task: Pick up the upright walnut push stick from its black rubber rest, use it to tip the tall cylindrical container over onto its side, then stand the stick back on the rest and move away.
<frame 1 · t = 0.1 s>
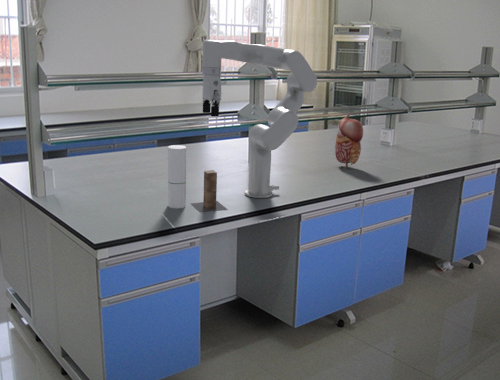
hand: (210, 114, 215), 37 cm above the table, tool pointing down, fingers open, 9 cm apart
anatomical model: (346, 168, 292), on the table
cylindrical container: (176, 207, 214), on the table
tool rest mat: (208, 207, 214), on the table
push stick: (209, 207, 213), point 1 cm above the table, touching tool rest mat
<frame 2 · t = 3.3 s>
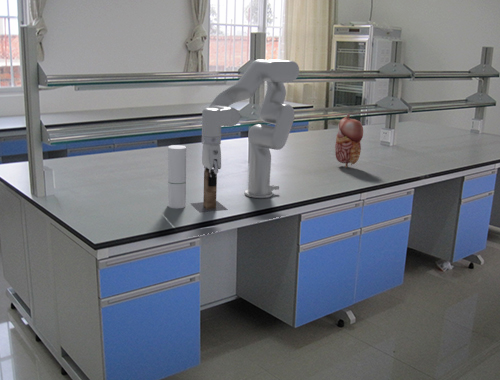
hand: (210, 184, 210), 10 cm above the table, tool pointing down, fingers closed on push stick, 4 cm apart
push stick: (209, 207, 213), point 1 cm above the table, touching gripper, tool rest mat
everything else where it was.
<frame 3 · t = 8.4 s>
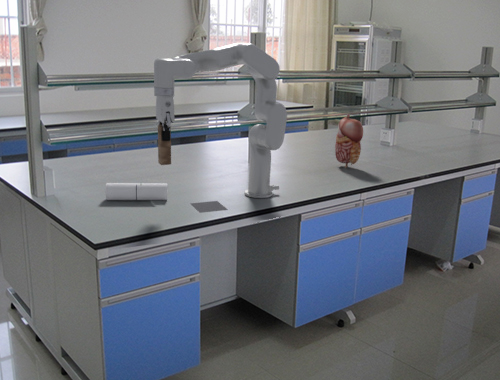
hand: (164, 139, 203), 28 cm above the table, tool pointing down, fingers closed on push stick, 4 cm apart
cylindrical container: (167, 191, 221), point 4 cm above the table
push stick: (164, 163, 206), point 19 cm above the table, touching gripper
everything else where it was.
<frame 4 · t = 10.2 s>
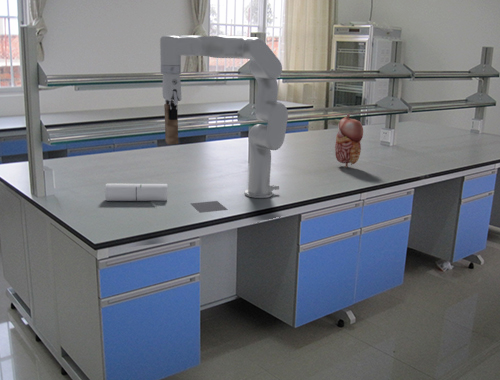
hand: (171, 118, 201), 37 cm above the table, tool pointing down, fingers closed on push stick, 4 cm apart
push stick: (171, 143, 204), point 27 cm above the table, touching gripper
when the fingers open (12 cm above the table, at t = 16.2 s): push stick drops 1 cm, resting on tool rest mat.
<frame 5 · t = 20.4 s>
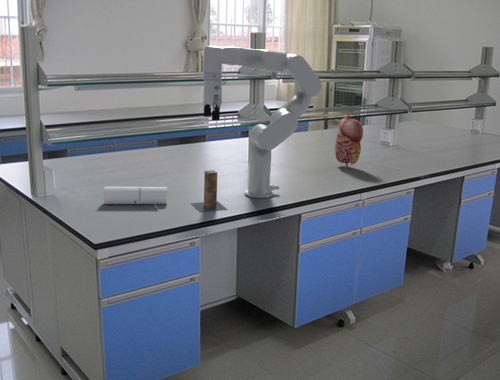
hand: (211, 118, 220), 34 cm above the table, tool pointing down, fingers open, 9 cm apart
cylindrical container: (167, 195, 216), point 4 cm above the table
push stick: (210, 207, 213), point 1 cm above the table, touching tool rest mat
everything else where it was.
at the end: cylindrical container tilted 90°; the gripper is holding nothing; push stick inside the target area on the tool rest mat (1.0 cm from its centre), point 0.6 cm above the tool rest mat's base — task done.
